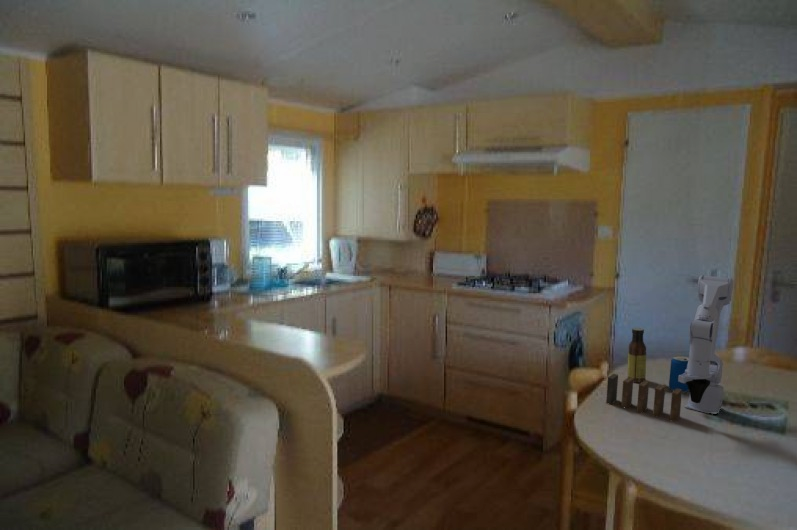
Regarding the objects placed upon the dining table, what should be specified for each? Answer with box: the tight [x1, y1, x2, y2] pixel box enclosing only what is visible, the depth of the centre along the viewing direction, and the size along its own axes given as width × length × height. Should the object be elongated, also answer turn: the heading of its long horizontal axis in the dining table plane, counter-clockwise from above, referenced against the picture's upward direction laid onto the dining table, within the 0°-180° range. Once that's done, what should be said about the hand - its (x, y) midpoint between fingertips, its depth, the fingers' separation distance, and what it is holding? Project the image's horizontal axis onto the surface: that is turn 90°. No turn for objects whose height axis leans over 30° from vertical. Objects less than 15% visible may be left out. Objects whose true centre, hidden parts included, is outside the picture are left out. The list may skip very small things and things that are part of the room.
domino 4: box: [652, 384, 666, 418], centre depth 180 cm, size 2×5×9 cm, turn 139°
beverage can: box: [668, 355, 689, 394], centre depth 200 cm, size 6×6×12 cm
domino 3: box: [636, 380, 650, 413], centre depth 183 cm, size 2×5×9 cm, turn 139°
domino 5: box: [669, 389, 683, 422], centre depth 177 cm, size 2×5×9 cm, turn 139°
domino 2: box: [620, 376, 634, 409], centre depth 186 cm, size 2×5×9 cm, turn 139°
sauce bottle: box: [627, 327, 647, 384], centre depth 210 cm, size 7×6×20 cm
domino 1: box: [605, 373, 619, 405], centre depth 190 cm, size 2×5×9 cm, turn 139°
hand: (695, 401), depth 173 cm, fingers closed
